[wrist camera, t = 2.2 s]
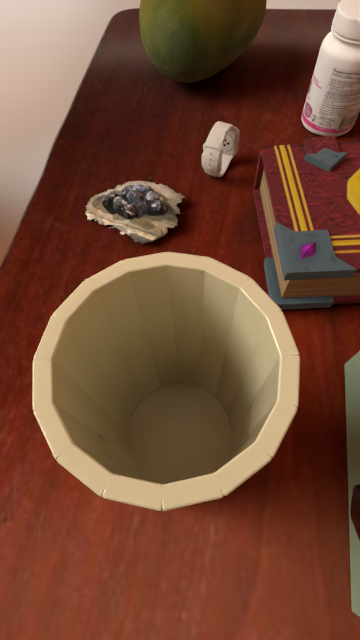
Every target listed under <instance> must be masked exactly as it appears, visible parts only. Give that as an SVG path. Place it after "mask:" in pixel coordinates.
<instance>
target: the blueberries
mask: <svg viewBox="0 0 360 640" xmlns="http://www.w3.org/2000/svg"><path fill="white" fill-rule="evenodd" d="M180 195H181V193H175V191H174V190H171V189H170V188H168V187H167V186H163V184H159V185H157V184H154V183H150V184H149V182H146V181H133V182H131V181H129V182H126V183H125V184H124V185H122V186H121V185H117V187H116V188H115V189H114V190H113V189H111V190H108V191H107V192H103V193H101V194H97V195H95V196H94V197H92V198H91V199H90V201H89V202H88V204H87V206H85V207H86V209H87V211H86V212H85V214H86V215H87V216H88V219H90V220H91V219H95V220H94V221H96V220H97V221H98V223H99V224H100V223H101V225H111V224H112V225H114V227H116V228H117V229H118V228H119V230H122V231H121V232H120V234H121V235H122V234H123V235H124V234H125V233H126V234H127V235H128V236H131V238H133V239H134V241H135V242H138V241H139V242H141V243H142V244H144V243H145V242H146V243H148V242H153V240H154V239H156V238H161V237H162V236H164V235H165V234H166V233H167V229H166V228H167V227H169V228H173V227H175V226H177V222H178V219H177V217H176V214H181V213H179V211H180V209H178V208H177V207H176V205H177V204H178V203H180V202H181V199H182V198H184V197H183V196H180ZM114 227H110V228H114Z"/></svg>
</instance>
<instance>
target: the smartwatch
mask: <svg viewBox="0 0 360 640" xmlns="http://www.w3.org/2000/svg"><path fill="white" fill-rule="evenodd" d="M239 135H240V131H239V129H238V128H236V127H235V126H234V125H231V124H227V123H224V122H220V121H219V122H216V124H215V125H214V126H213V128H212V130H211V131H210V133H209V136H208V138H207V140H206V143H205V144H203V150H204V152H203V154H202V167H203V168H204V171H205V172H206V173H207V174H209V175H211V176H214V177H221V176H223V174H224V173H225V171H226V169H227V167H228V165H229V163H230V161H231V159H232V158H233V156H234V155H236V154H237V151H238V143H239Z"/></svg>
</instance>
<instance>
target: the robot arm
mask: <svg viewBox="0 0 360 640" xmlns="http://www.w3.org/2000/svg"><path fill="white" fill-rule="evenodd" d="M350 515H351V519H352V522H353V525H354V528H355V530H356V533H357V535H358V538H359V540H360V484H357V485H355V486H354V487H353V492H352V500H351V508H350Z"/></svg>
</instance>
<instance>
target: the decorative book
mask: <svg viewBox="0 0 360 640" xmlns="http://www.w3.org/2000/svg"><path fill="white" fill-rule="evenodd" d="M253 194H254V199H255V205H256V210H257V216H258V221H259V227H260V232H261V238H262V243H263V248H264V254H265V260H264V270H265V275H266V281H267V287H268V293H269V297H270V298H271V299H272V300H273V301H274V302H275V303H276V304H277V305H278V306H279V308H280V309H281V310H285V309H305V308H325V307H331V306H332V304H345V303H360V142H341V143H337V142H336V139H335V137H334V136H331V137H311V138H304V141H303V144H300V145H280V146H261V150H260V155H259V160H258V166H257V171H256V176H255V181H254V186H253Z"/></svg>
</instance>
